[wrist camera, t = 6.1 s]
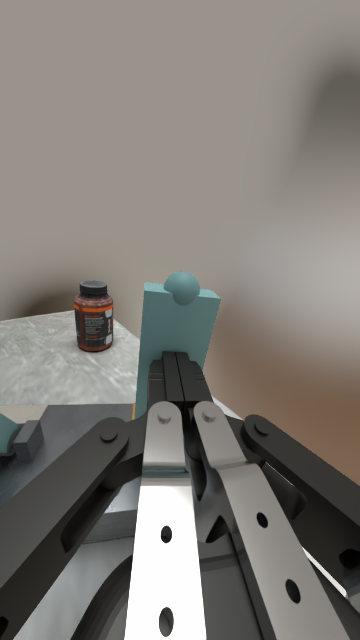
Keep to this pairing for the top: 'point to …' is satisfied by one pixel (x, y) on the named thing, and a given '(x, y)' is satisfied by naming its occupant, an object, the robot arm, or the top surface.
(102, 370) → the top surface
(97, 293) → the supplement bottle
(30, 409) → the switch box
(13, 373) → the top surface
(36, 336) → the top surface
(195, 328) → the outer lever
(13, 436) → the inner lever
